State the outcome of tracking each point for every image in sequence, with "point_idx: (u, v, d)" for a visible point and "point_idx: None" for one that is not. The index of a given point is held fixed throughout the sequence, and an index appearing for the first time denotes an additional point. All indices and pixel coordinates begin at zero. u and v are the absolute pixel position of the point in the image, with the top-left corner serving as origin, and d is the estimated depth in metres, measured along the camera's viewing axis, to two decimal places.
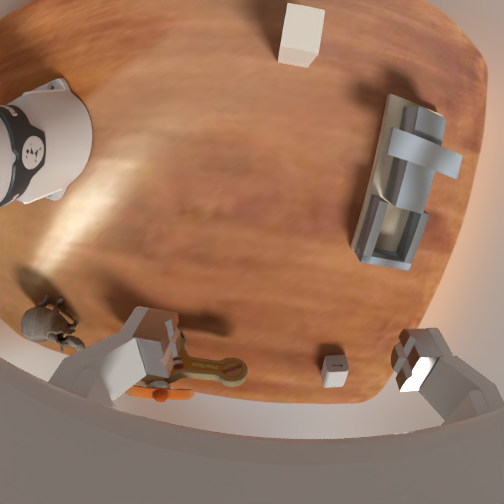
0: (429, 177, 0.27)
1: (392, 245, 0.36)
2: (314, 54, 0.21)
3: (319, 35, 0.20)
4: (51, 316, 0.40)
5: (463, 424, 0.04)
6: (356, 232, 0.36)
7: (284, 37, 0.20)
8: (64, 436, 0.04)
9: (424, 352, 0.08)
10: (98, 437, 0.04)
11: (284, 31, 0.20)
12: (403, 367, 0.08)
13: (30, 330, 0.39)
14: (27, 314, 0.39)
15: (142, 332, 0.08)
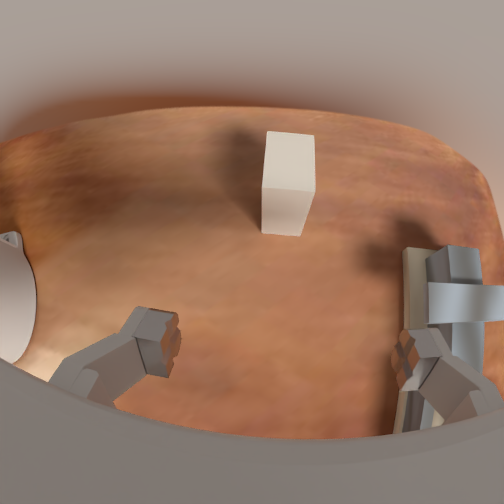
0: (480, 334, 0.17)
1: None
2: (309, 196, 0.19)
3: (312, 167, 0.19)
4: None
5: (463, 424, 0.04)
6: None
7: (266, 174, 0.19)
8: (64, 436, 0.04)
9: (424, 352, 0.08)
10: (98, 437, 0.04)
11: (266, 167, 0.19)
12: (403, 367, 0.08)
13: None
14: None
15: (142, 332, 0.08)
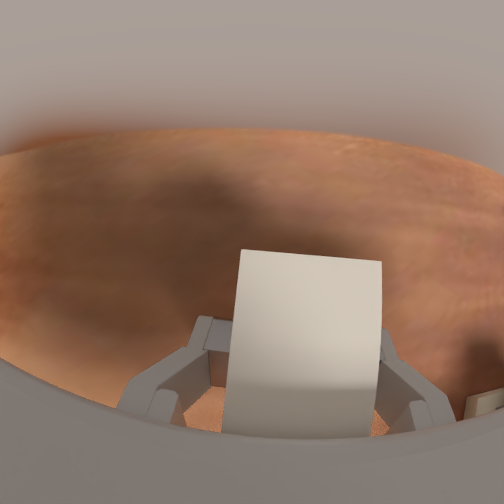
0: None
1: None
2: None
3: (370, 385, 0.06)
4: None
5: (463, 424, 0.04)
6: None
7: (233, 419, 0.06)
8: (64, 436, 0.04)
9: None
10: (98, 437, 0.04)
11: (232, 392, 0.06)
12: None
13: None
14: None
15: (214, 344, 0.08)
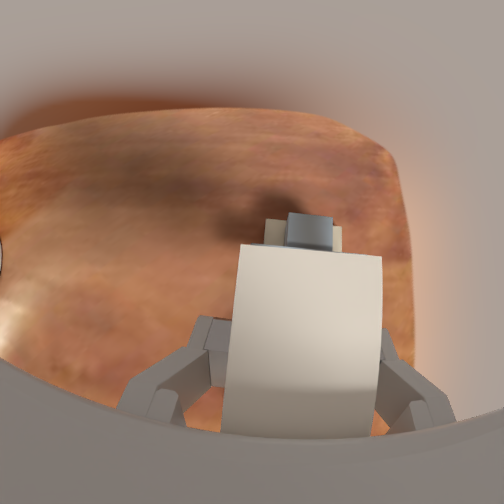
0: None
1: None
2: None
3: (371, 381, 0.06)
4: None
5: (463, 424, 0.04)
6: None
7: (233, 415, 0.06)
8: (64, 436, 0.04)
9: None
10: (98, 437, 0.04)
11: (232, 389, 0.06)
12: None
13: None
14: None
15: (214, 344, 0.08)
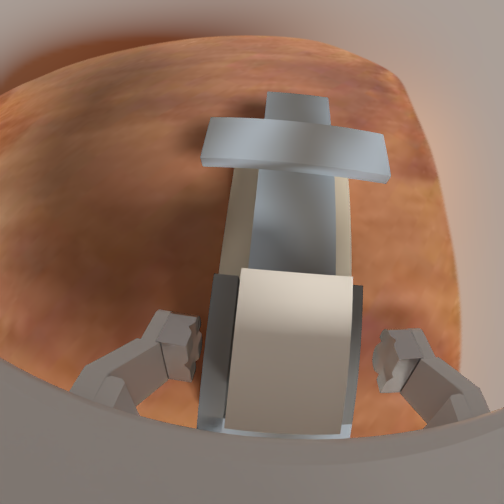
0: (325, 192, 0.14)
1: None
2: None
3: (342, 374, 0.08)
4: None
5: (463, 424, 0.04)
6: None
7: (235, 399, 0.08)
8: (64, 436, 0.04)
9: (404, 353, 0.08)
10: (98, 437, 0.04)
11: (235, 378, 0.08)
12: (383, 368, 0.08)
13: None
14: None
15: (166, 337, 0.08)
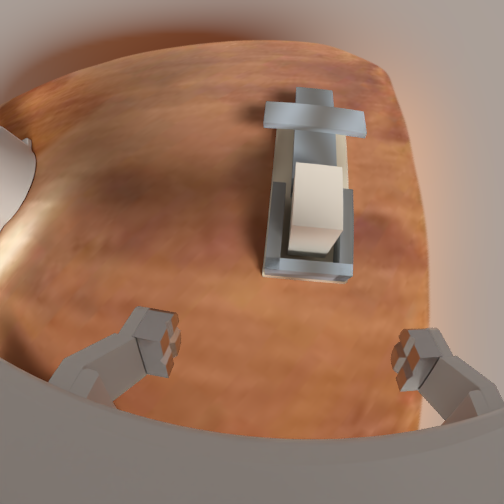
0: (330, 141, 0.25)
1: (323, 260, 0.26)
2: (337, 233, 0.19)
3: (340, 203, 0.19)
4: None
5: (463, 424, 0.04)
6: None
7: (296, 211, 0.19)
8: (64, 436, 0.04)
9: (424, 352, 0.08)
10: (98, 437, 0.04)
11: (295, 203, 0.20)
12: (403, 367, 0.08)
13: None
14: None
15: (142, 332, 0.08)
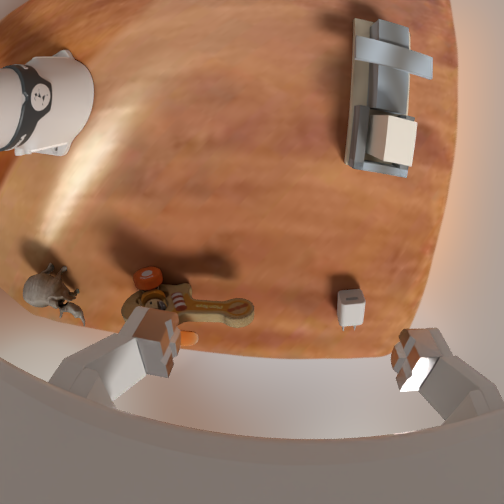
0: (404, 79, 0.25)
1: None
2: None
3: (412, 148, 0.26)
4: (54, 282, 0.43)
5: (463, 424, 0.04)
6: (347, 146, 0.34)
7: (386, 152, 0.26)
8: (64, 436, 0.04)
9: (424, 352, 0.08)
10: (98, 437, 0.04)
11: (386, 146, 0.26)
12: (403, 367, 0.08)
13: (32, 295, 0.42)
14: (30, 279, 0.42)
15: (142, 332, 0.08)
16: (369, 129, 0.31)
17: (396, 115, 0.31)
